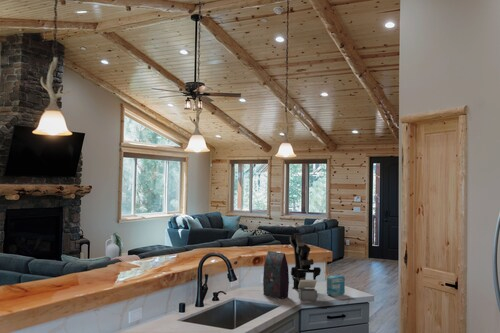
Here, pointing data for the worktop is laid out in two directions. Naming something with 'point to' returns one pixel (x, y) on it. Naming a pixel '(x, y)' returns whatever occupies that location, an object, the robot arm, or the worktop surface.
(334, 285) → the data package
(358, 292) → the worktop surface
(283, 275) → the dark coffee bag
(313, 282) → the lid
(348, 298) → the worktop surface
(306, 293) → the storage box
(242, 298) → the worktop surface
